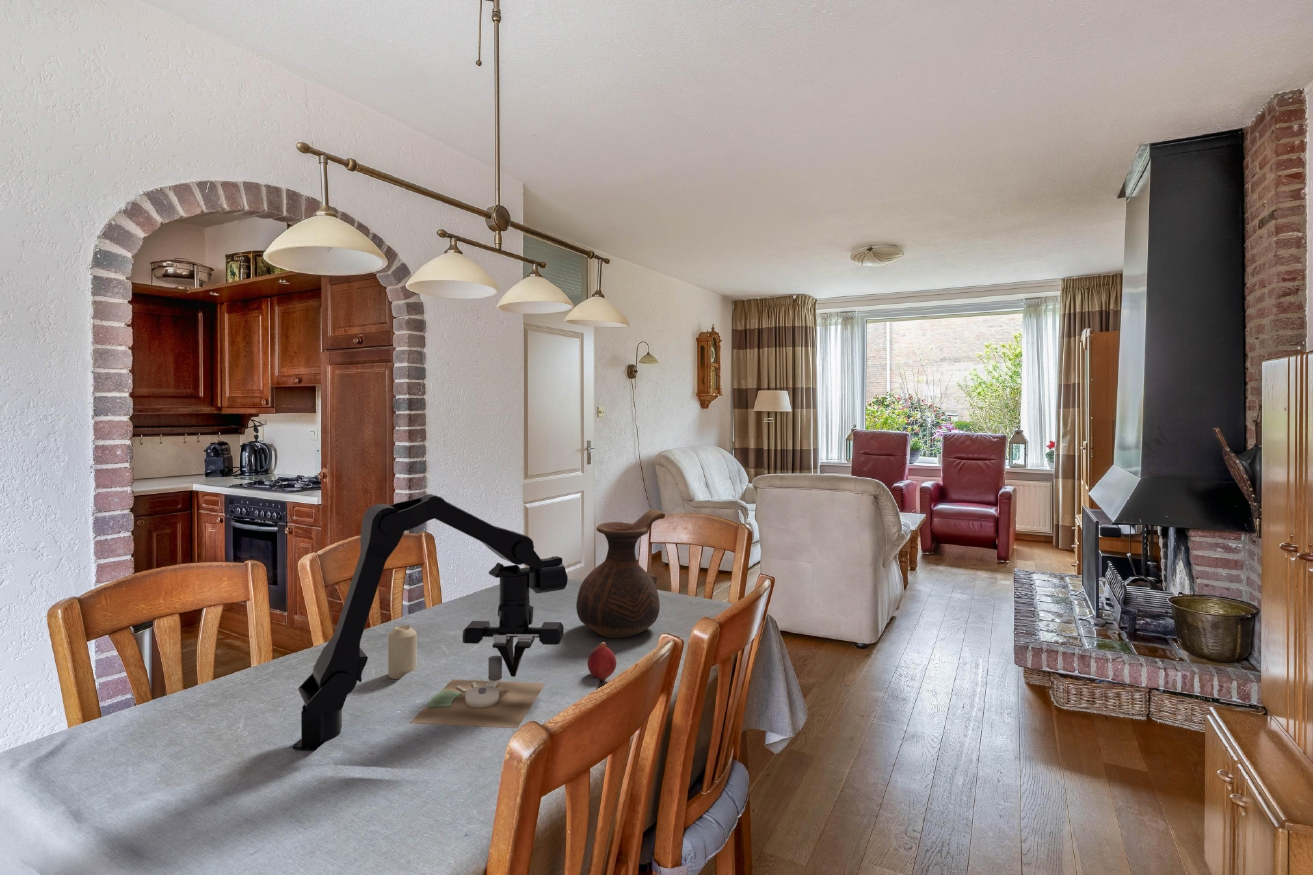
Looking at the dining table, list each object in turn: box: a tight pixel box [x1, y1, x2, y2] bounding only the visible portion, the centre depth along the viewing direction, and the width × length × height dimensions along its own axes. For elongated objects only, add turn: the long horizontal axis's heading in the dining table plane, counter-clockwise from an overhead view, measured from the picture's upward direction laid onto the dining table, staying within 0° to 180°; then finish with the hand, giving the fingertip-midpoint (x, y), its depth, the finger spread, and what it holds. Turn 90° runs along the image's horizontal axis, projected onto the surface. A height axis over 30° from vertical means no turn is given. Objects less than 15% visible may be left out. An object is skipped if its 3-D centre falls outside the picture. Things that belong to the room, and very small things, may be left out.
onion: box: [587, 641, 617, 682], centre depth 137 cm, size 6×6×8 cm
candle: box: [387, 624, 417, 680], centre depth 139 cm, size 6×6×10 cm
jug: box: [576, 509, 666, 639], centre depth 169 cm, size 22×22×30 cm
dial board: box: [409, 679, 546, 729], centre depth 124 cm, size 19×19×2 cm
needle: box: [465, 654, 503, 708], centre depth 126 cm, size 12×6×5 cm, turn 175°
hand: (513, 675), depth 130 cm, fingers closed
